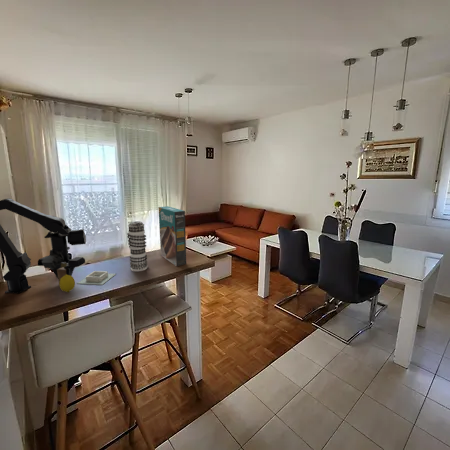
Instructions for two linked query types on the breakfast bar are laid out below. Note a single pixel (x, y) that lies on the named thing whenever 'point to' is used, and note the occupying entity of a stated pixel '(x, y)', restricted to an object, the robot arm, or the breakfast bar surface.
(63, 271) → the peg
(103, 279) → the socket
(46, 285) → the breakfast bar surface
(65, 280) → the lemon
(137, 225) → the decorative candle
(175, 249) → the cake mix box
